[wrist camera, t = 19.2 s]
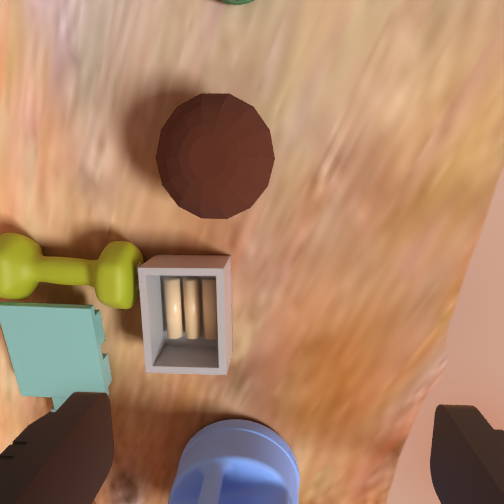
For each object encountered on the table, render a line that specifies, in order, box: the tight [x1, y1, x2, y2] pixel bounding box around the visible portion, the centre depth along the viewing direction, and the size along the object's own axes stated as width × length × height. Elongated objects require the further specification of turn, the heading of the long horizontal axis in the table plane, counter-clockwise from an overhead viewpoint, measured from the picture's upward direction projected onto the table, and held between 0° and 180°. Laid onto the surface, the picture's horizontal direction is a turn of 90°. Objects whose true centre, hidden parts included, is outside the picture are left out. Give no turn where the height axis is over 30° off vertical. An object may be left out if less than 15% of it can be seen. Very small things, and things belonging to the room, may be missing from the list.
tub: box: [138, 255, 233, 375], centre depth 45 cm, size 12×9×6 cm
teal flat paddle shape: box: [0, 302, 112, 412], centre depth 48 cm, size 19×11×3 cm, turn 0°
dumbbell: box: [0, 233, 144, 309], centre depth 44 cm, size 16×8×7 cm, turn 86°
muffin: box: [156, 94, 275, 219], centre depth 39 cm, size 12×11×10 cm
